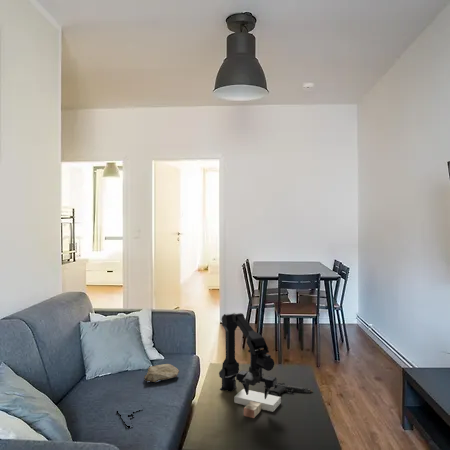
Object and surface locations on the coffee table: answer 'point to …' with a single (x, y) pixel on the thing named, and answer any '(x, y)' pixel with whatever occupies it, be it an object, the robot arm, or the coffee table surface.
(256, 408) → the brown and pink block
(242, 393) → the panel
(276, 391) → the handgun
